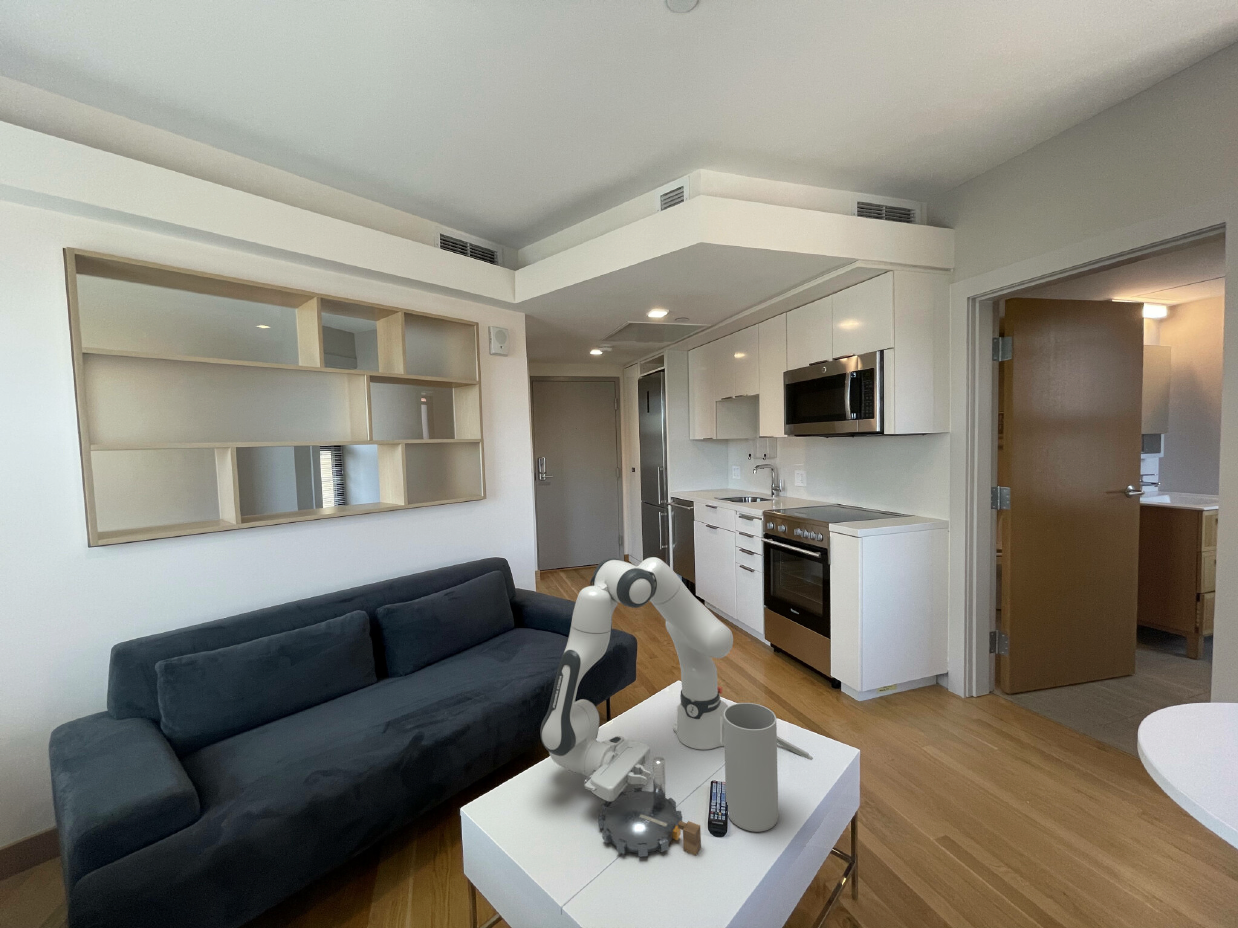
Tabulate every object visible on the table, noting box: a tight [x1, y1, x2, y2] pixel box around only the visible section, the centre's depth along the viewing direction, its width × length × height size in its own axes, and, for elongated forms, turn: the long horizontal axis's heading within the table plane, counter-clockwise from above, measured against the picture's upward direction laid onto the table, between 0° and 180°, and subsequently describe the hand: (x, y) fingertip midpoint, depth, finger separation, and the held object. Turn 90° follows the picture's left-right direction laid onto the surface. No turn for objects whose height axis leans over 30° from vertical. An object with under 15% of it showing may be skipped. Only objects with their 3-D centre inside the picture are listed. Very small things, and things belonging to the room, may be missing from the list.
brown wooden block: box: [678, 820, 702, 856], centre depth 118 cm, size 3×5×5 cm, turn 58°
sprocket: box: [598, 756, 683, 857], centre depth 125 cm, size 20×20×13 cm
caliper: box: [777, 736, 814, 761], centre depth 155 cm, size 20×1×6 cm, turn 51°
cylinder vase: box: [723, 702, 779, 833], centre depth 127 cm, size 12×12×25 cm
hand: (648, 778), depth 130 cm, fingers closed
